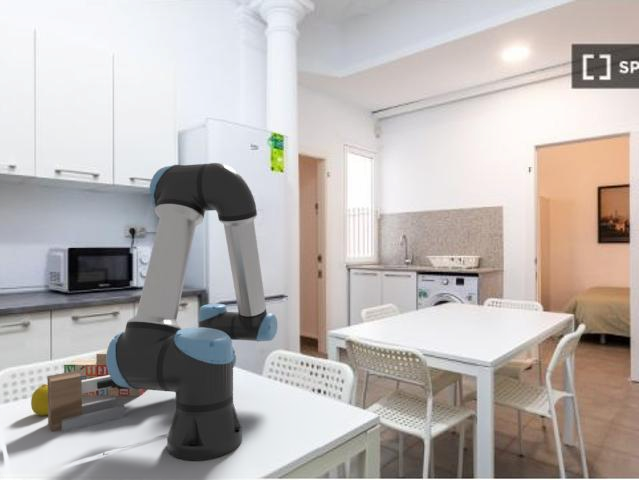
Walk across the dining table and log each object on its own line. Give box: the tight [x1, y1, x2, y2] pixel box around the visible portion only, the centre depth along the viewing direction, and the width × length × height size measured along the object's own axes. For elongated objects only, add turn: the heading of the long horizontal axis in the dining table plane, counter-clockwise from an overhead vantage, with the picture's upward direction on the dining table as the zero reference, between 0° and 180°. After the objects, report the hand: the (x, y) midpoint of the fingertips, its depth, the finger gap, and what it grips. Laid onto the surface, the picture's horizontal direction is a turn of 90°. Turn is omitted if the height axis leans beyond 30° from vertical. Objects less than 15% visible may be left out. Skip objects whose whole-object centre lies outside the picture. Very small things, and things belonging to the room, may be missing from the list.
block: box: [47, 371, 83, 432], centre depth 100 cm, size 5×6×11 cm
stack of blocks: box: [63, 347, 148, 397], centre depth 121 cm, size 21×6×12 cm, turn 87°
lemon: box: [30, 383, 48, 417], centre depth 106 cm, size 6×6×8 cm
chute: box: [60, 396, 126, 433], centre depth 103 cm, size 9×13×3 cm
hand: (80, 387), depth 102 cm, fingers closed
